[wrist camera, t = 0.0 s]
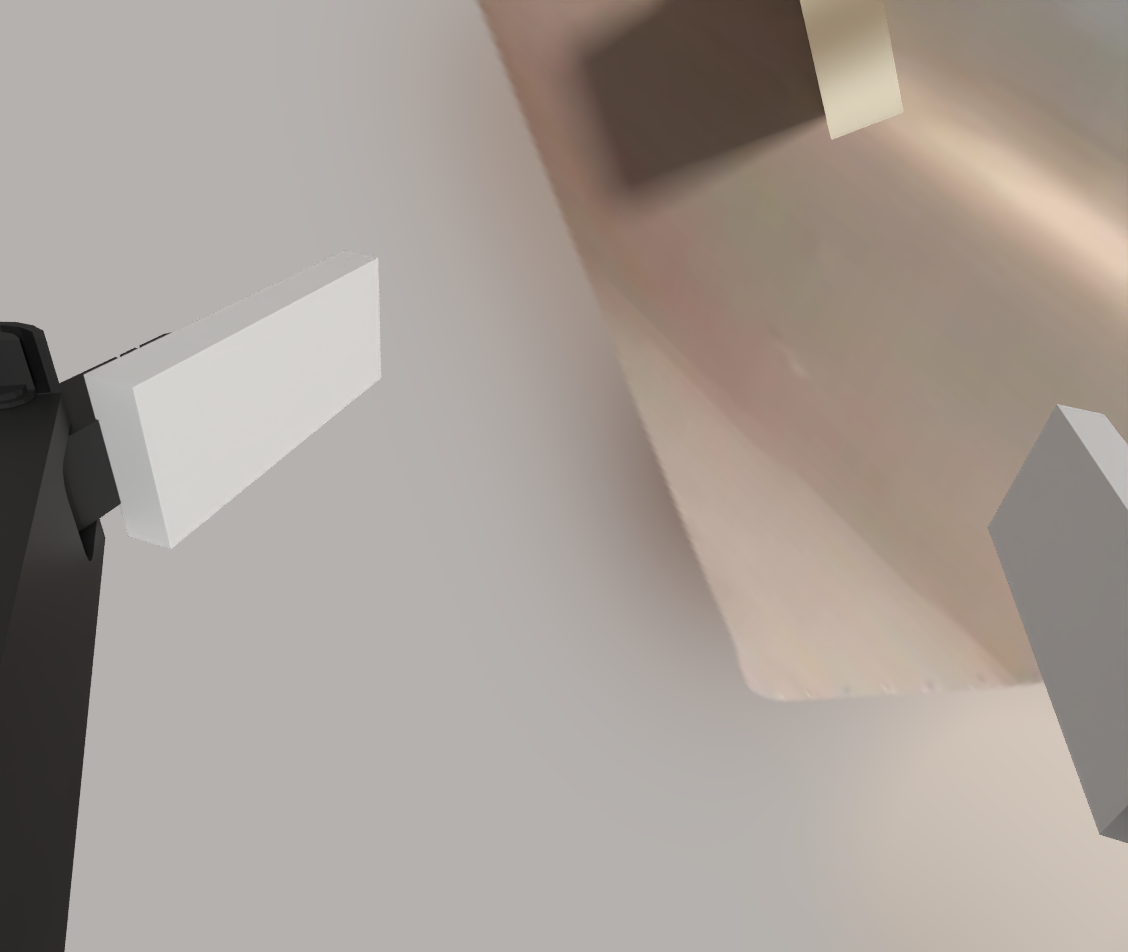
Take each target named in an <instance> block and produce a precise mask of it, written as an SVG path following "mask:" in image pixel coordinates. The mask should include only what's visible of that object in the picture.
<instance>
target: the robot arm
mask: <svg viewBox="0 0 1128 952" xmlns="http://www.w3.org/2000/svg"><path fill="white" fill-rule="evenodd" d="M378 276H379V274H378V257H373V256H368V255H363V254H358V253H354V252H349V251H342V252H340V253H338V254H336V255H334V256H332V257H330V258H328V259H326V260H323V261H321V262H320V263H317V264H315V265H313V266H311V267H309V268H307V269H305V270H302V271H300V272H298V273H296V274H294V275H292V276H290V277H288V278H286V279H283V280H282V281H279V282H277V283H275V284H273V285H271V286H269V287H267V288H265V289H262V290H261V291H258V292H256V293H254V294H252V295H250V296H248V297H246V298H243V299H241V300H239V301H237V302H235V303H233V304H231V305H229V306H227V307H225V308H223V309H220V310H218V311H216V312H214V313H212V314H210V315H208V316H206V317H204V318H201V319H199V320H197V321H195V322H193V323H191V324H189V325H187V326H185V327H183V328H180V329H178V330H176V331H174V332H171V333H167V334H163V335H161V336H159V337H157V338H155V339H153V340H151V341H148V342H146V343H144V344H142V345H140V348H139V349H137V348H134V349H131V350H129V351H127V352H125V353H123V354H121V355H120V357H119V358H116V357H114V358H112V359H110V360H108V361H106V362H104V363H102V364H100V365H98V366H96V367H93V368H91V369H89V370H87V371H85V372H83V373H81V374H78V375H76V376H74V377H72V378H70V379H68V380H66V381H64V382H61V383H59V382H58V378H57V375H56V372H55V369H54V365H53V361H52V358H51V355H50V351H49V348H48V345H47V341H46V338H45V335H44V332H43V330H41V329H39V328H37V327H35V326H33V325H28V324H23V323H18V322H0V952H64V950H65V940H66V929H67V920H68V910H69V900H70V899H69V898H70V889H71V879H72V869H73V858H74V848H75V839H76V828H77V818H78V807H79V798H80V788H81V778H82V768H83V757H84V746H85V737H86V727H87V717H88V706H89V696H90V686H91V676H92V666H93V656H94V646H95V635H96V625H97V616H98V605H99V595H100V585H101V575H102V565H103V554H104V545H105V536H104V532H103V529H102V526H101V522H100V519H99V518H101V517H102V516H103V515H105V514H106V513H108V512H109V511H111V510H112V509H114V508H115V507H116V506H118V505H120V509H121V512H122V516H123V520H124V523H125V527H126V530H127V534H128V536H129V537H133V538H136V539H139V540H143V541H146V542H149V543H152V544H155V545H159V546H162V547H165V548H169V549H172V548H173V547H174V546H175V545H177V544H178V543H179V542H180V541H181V540H183V539H184V538H185V537H186V536H188V535H189V534H190V533H191V532H193V531H194V530H195V529H196V528H197V527H198V526H200V525H201V524H202V523H203V522H205V521H206V520H207V519H209V518H210V517H211V516H212V515H213V514H215V513H216V512H217V511H218V510H220V509H221V508H222V507H223V506H225V505H226V504H227V503H228V502H229V501H230V500H232V499H233V498H234V497H235V496H237V495H238V494H239V493H240V492H242V491H243V490H244V489H245V488H246V487H248V486H249V485H250V484H251V483H253V482H254V481H255V480H256V479H258V478H259V477H260V476H261V475H263V474H264V473H265V472H266V471H267V470H269V469H270V468H271V467H272V466H274V465H275V464H276V463H277V462H278V461H280V460H281V459H282V458H283V457H285V456H286V455H287V454H288V453H289V452H291V451H292V450H293V449H294V448H296V447H297V446H298V445H299V444H301V443H302V442H303V441H304V440H305V439H307V438H308V437H309V436H310V435H311V434H313V433H314V432H315V431H316V430H318V429H319V428H320V427H321V426H323V425H324V424H325V423H326V422H328V421H329V420H330V419H331V418H332V417H334V416H335V415H336V414H337V413H339V412H340V411H341V410H342V409H343V408H345V407H346V406H347V405H348V404H350V403H351V402H352V401H353V400H354V399H356V398H357V397H358V396H359V395H360V394H362V393H363V392H364V391H366V390H367V389H368V388H369V387H370V386H372V385H373V384H374V383H375V382H377V381H378V380H379V379H380V378H381V359H380V358H381V355H380V314H379V277H378ZM988 529H989V532H990V535H991V537H992V540H993V543H994V546H995V548H996V551H997V554H998V557H999V559H1000V562H1001V565H1002V568H1003V570H1004V573H1005V576H1006V579H1007V581H1008V584H1009V587H1010V590H1011V592H1012V595H1013V598H1014V600H1015V603H1016V606H1017V609H1018V611H1019V614H1020V617H1021V620H1022V622H1023V625H1024V628H1025V631H1026V633H1027V636H1028V639H1029V642H1030V644H1031V647H1032V650H1033V653H1034V655H1035V658H1036V661H1037V664H1038V666H1039V669H1040V672H1041V675H1042V677H1043V680H1044V683H1045V686H1046V688H1047V691H1048V694H1049V697H1050V699H1051V702H1052V705H1053V708H1054V710H1055V713H1056V716H1057V719H1058V721H1059V724H1060V726H1061V729H1062V732H1063V735H1064V738H1065V741H1066V743H1067V746H1068V749H1069V752H1070V754H1071V757H1072V760H1073V763H1074V765H1075V768H1076V771H1077V773H1078V776H1079V779H1080V782H1081V785H1082V787H1083V790H1084V793H1085V795H1086V798H1087V801H1088V804H1089V807H1090V809H1091V812H1092V815H1093V817H1094V820H1095V823H1096V826H1097V828H1098V831H1099V834H1100V835H1103V836H1106V837H1109V838H1113V839H1116V840H1119V841H1122V842H1126V843H1128V445H1127V443H1126V442H1125V441H1124V440H1123V438H1122V437H1121V436H1120V434H1119V433H1118V432H1117V431H1116V429H1115V428H1114V427H1113V425H1112V424H1111V423H1110V421H1109V420H1108V419H1107V418H1106V416H1105V415H1104V414H1100V413H1096V412H1091V411H1086V410H1082V409H1077V408H1072V407H1068V406H1063V405H1059V404H1057V405H1056V407H1055V409H1054V410H1053V412H1052V414H1051V416H1050V417H1049V419H1048V421H1047V423H1046V425H1045V426H1044V428H1043V430H1042V432H1041V434H1040V435H1039V437H1038V439H1037V441H1036V442H1035V444H1034V446H1033V448H1032V450H1031V451H1030V453H1029V455H1028V457H1027V459H1026V460H1025V462H1024V464H1023V466H1022V467H1021V469H1020V471H1019V473H1018V475H1017V476H1016V478H1015V480H1014V482H1013V484H1012V485H1011V487H1010V489H1009V491H1008V492H1007V494H1006V496H1005V498H1004V500H1003V501H1002V503H1001V505H1000V507H999V509H998V510H997V512H996V514H995V516H994V518H993V519H992V521H991V523H990V525H989V526H988Z"/></svg>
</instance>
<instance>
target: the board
mask: <svg viewBox="0 0 1128 952" xmlns="http://www.w3.org/2000/svg"><path fill="white" fill-rule="evenodd" d="M800 4H801V8H802V13H803V17H804V21H805V26H806V30H807V35H808V39H809V44H810V48H811V53H812V57H813V61H814V66H815V70H816V75H817V79H818V84H819V88H820V92H821V97H822V101H823V106H824V110H825V115H826V119H827V123H828V128H829V132H830V137H831V140H832V139H835V138H837V137H840V136H843V135H845V134H848V133H851V132H853V131H856V130H858V129H861V128H864V127H866V126H869V125H872V124H874V123H877V122H879V121H882V120H885V119H887V118H890V117H893V116H895V115H898V114H901V113H903V107H902V101H901V96H900V90H899V85H898V79H897V74H896V69H895V63H894V58H893V52H892V47H891V41H890V36H889V31H888V25H887V20H886V14H885V9H884V3H883V0H800Z"/></svg>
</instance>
